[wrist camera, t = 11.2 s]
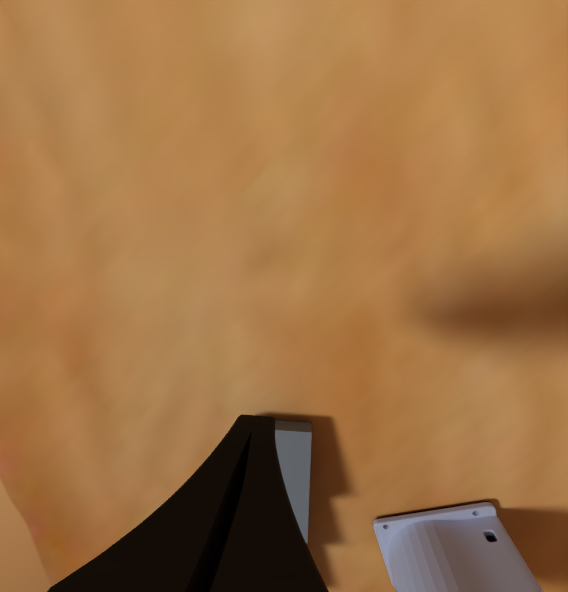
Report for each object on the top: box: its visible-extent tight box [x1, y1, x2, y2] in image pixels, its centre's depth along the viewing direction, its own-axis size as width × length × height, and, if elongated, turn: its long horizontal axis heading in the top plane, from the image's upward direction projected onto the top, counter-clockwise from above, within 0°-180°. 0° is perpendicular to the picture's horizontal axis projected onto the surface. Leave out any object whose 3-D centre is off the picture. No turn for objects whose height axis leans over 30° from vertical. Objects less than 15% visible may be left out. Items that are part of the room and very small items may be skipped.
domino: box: [275, 420, 312, 543], centre depth 22 cm, size 2×5×8 cm
